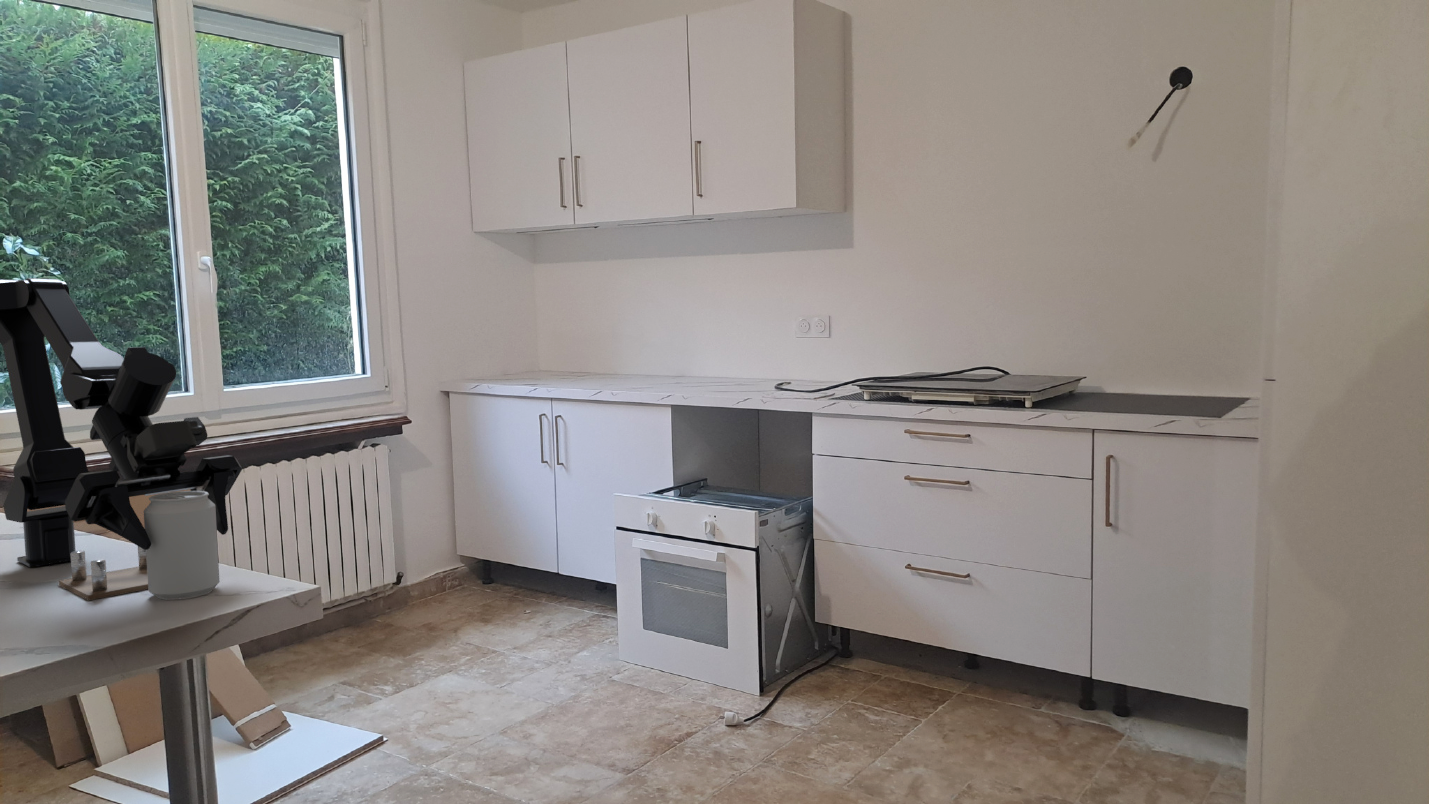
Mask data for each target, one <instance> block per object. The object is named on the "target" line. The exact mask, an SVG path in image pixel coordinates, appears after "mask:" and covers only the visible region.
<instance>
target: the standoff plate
mask: <svg viewBox="0 0 1429 804" xmlns="http://www.w3.org/2000/svg"><path fill="white" fill-rule="evenodd" d="M137 554H138V555H137V557H138V566H134V567H129V568H122V569H116V570H111V571H107V562H106V559H102V558H101V559H93V560H91V561H90V571H91V572H90V574H89V575H87V563H86V561H87V560H86V551H85V550H76V551H74V552H71V561H70V563H71V565H70V566H71V578H66V579H60V580H58V586H60V587H61V588H63V589H66V590H67V591H69V592H71V593H74V594H75V595H77V596H79V597H81V598H83V599H85V600H86V601H93V600H97V599H102V598H103V599H104V598H109V597H113V596H118V595H119V596H120V595H123V594H130V593H134V592H139V591H145V590H148V576H147V559H146V550H144V549H142V548H141V547H139V546H137Z"/></svg>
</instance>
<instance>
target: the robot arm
mask: <svg viewBox="0 0 1429 804" xmlns="http://www.w3.org/2000/svg"><path fill="white" fill-rule="evenodd" d="M45 341H47V342H48V344H49V345H50V347H51V349H52V351H54V352H53V353H55V355H56V357H57V359H58V360H59V362H60V364H61V366H62V368H63V372H62V376H61V377H60V381H59V383H60V386H61V389H62V393H63V397H64V398H65V400H66V401H67V402H68V403H69V405H71V407H72V408H73V409H75V410H81V411H82V410H92V409H93V410H95V409H96V411H95V413H94V415H93V417H92V419H91V424H92V426H91V429H90V431H89V438H90V440H91V441H95V440H96V441H97V440H101V442H102V444H103V445H104V447H105V448H106V451H107V452H108V454H109V456H110V459H111V460H110V462H109V464H108V468H109V469H105V470H99V471H98V470H97V471H91V472H90V471H89V468H88V466H87V461H86V452H85V451H84V449H82V447H80V446H77V447H74V446H73V445H72V444H71V443H70V441H67V439H66V437H65V434H64V433H65V432H64V428H63V427H64V426H63V424H62V423H63V422H62V419H61V414H60V409H59V405H58V404H59V403H58V399H57V395H56V390H55V386H54V380H53V377H52V371H51V370H52V369H51V365H50V360H49V356H48V352H47V351H48V350H47V346H46V342H45ZM0 345H1V346H2V349H3V354H4V358H5V363H6V368H7V373H8V379H9V383H10V389H11V392H12V398H13V403H14V407H15V413H16V417H17V422H18V426H19V427H18V428H19V432H20V437H21V442H22V450H21V452H20V455H19V457H17V460H16V463H15V465H14V466H13V469H12V470H13V471H12V472H13V481H12V483H11V486H10V488H9V490H8V493H7V495H6V497H5V499H4V501H3V502H4V503H3V510H4V511H3V512H4V514H5V519H6V520H7V521H12V522H16V523H19V524H20V523H21V524H22V525H23V537H24V551H25V552H24V553H25V555H24V556H23V555H22V556H18V557H17V558H16V559H17V560H16V561H17V562H18V563H21V564H23V565H25V566H27V567H29V568H35V567H40V566H47V565H53V564H57V563H58V564H59V563H64V562H65V563H66V562H71V552H74V551H77V550H76V537H75V524H74V523H75V522H83V521H84V522H85V523H86V524H87V525H97V526H99V527H101V528H104V529H105V530H107V531H111V532H112V533H114V534H116V535H118V536H120V537H122V538H123V539H125V540H127V541H128V542H131V543H132V544H134V545H135V546H137V547H138V546H139V547H141V548H142V549H144V550H148V549H149V548H150V546H151V541H150V539H149V537H148V534H147V532H146V530H145V527H144V525H143V523H142V522H141V520H140V518H139V517H138V515H137V512H135V510H134V508H133V507H132V504H131V501H130V498H131V497H133V498H134V497H138V496H139V497H140V496H146V497H147V496H154V495H158V494H163V493H171V492H181V491H205V492H208V493H209V495H208V499H209V500H211V501H212V502H213V503H214V504H215V508H216V526H217V532H218V533H219V534H221V535H222V536H223V535H226V534H227V533H228V531H229V522H228V514H227V513H228V512H227V502H226V496H228V494H229V493H230V491H231V489H232V488H233V486H234V484H235V482H236V481H237V479H238V477H239V476H240V474H241V472H242V471H243V466H241V464H240V462H239V461H238V459H237V458H236V457H235V456H234V455H228V454H227V455H221V456H211V457H205V458H204V457H203V458H201V460H200V462H199V464H198V465H197V468H196V469H195V471H188V472H180V467H181V466H183V467H184V465H185V464H186V462H187V457H186V455H185V454H186V453H187V452H188V451H190V450H191V449H195V448H196V447H197V446H199V445H201V444H203V443H204V442H205V441H206V440H207V439H208V432H207V429H206V426H205V424H204V423H203V421H202V420H201V419H200V418H199V417H198V416H192V417H184V418H183V420H178V421H166V422H165V421H164V422H158V423H157V422H156V423H153V422H152V420H151V419H150V416H153V415H155V414H156V413H158V412H160V410H161V408H162V406H163V404H164V402H165V399H166V397H167V395H168V394H169V391H170V389H171V387H172V386H173V383H174V381H175V379H176V377H177V370H176V367H175V365H174V364H173V363H171V362H169V361H168V360H167V359H165V358H163V357H161V356H159V355H157V354H154V353H152V352H149V351H148V349H147V348H146V346H132V347H131V346H130V347H127V349H126V351H125V354H124V356H122V355H121V354H120V353H117V352H116V351H113V350H111V349H110V348H107V347H105V346H103V345H102V344H101V343H100V341H99V339H98V338H97V336H96V335H95V333H94V332H93V330H92V329H91V327H90V325H89V324H88V323H87V321H86V319H85V318H84V316H83V315H82V313H81V311H80V310H79V308H78V307H77V306H76V304H75V302H74V300H73V299H72V298H71V296H70V288H69V286H68V284H67V283H66V282H65V281H64V280H63V281H62V280H60V279H58V278H30V277H28V278H25V279H0ZM120 476H121V477H120ZM28 510H29V511H28Z"/></svg>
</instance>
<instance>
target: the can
mask: <svg viewBox="0 0 1429 804" xmlns="http://www.w3.org/2000/svg"><path fill="white" fill-rule="evenodd" d="M208 495H209V493H208V492H205V491H191V490H182V491H175V492H168V493H162V494H155V495H150V496H149V498H148V500H149V502H150V503H149V504H148V505H147V506H146V507H145V508H144V509H143V523H144V525H143V527H144V529H145V530H146V532H147V534H148V537H149V539H150V541H151V546H150V548H149V549H148V550H146V559H147V576H148V589H147V590H148V592H149V593H150V594H152V595H153V596H155V597H156V598H157V599H159V600H167V601H168V600H169V601H170V600H173V601H175V600H177V601H178V600H184V599H185V600H187V599H192V598H196V597H197V598H198V597H201V596H204V595H207V594H209V593H211V592H212V591H213V590H214V589H215V587H216V586H218V584H219V583H220V582H221V581H220V567H219V566H220V565H219V549H218V533H217V532H218V530H217V526H216V508H215V504H214V503H213V502H212V501H211V500H209V499H208Z"/></svg>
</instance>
